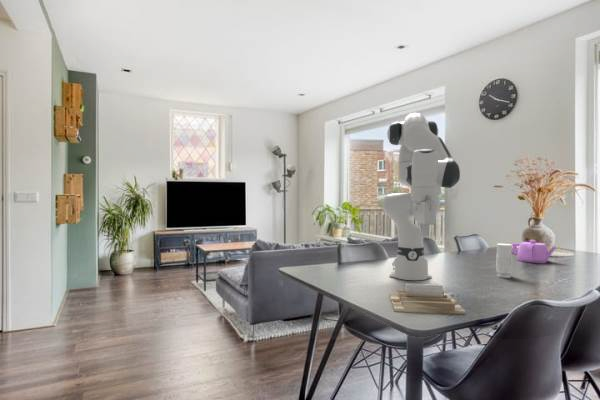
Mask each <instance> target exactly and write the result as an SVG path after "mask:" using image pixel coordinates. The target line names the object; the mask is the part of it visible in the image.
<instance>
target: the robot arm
mask: <svg viewBox="0 0 600 400" xmlns="http://www.w3.org/2000/svg"><path fill="white" fill-rule="evenodd" d="M386 134H387V140H388V141H389V143H390V145H393V146H398V145H399V146H400V148H399V154H398V172H397V173H398V180H399V181H398V182H400V183H401V184H402V185H403V186H405V187H408V188H409V189H410V192H396V193H390V194H386V195H385V196H384V198H383V200H382V203H381V207H382V211H383V212H384V214H385V215H386V216H388V217H389V218H390V219H391V220H392V222H393V223H394V225H395V227H396V230H397V238H398V239H397V243H398V244H397V245H398V246H397V249H396V254H397V255H396V256H395V258H394V259H393V260H392V263H391V265H392V269H391V272H390V273H389V277H390V278H395V279H399V280H404V281H405V280H406V281H407V280H408V281H423V280H427V279H432V278H433V276H432V275H431V274H429V267H428V265H429V263H428V259H427V258H426V257H425V247H424V237H428V236H429V229H430V226H431V225H432V226H433V225H436V223H437V214H439V212H440V210H441V206H442V205H441V204H442V203H441V201H440V198H439V188H445V189H446V188H447V189H451V188H453V187H454V186H455V185H457V183H458V182H459V181H460V176H461V170H460V166H459V164H458V163H457V162H456V160H455V159H454V158H453V157H452V155H451V153H450V151H449V149H448V147H447V146H446V144H445V141H444V140H443V139H442V138H441V137H440V136H438V135H439V127H438V124H437V123H436V122H435V121H432V120H427V118H426V117H425V116H424V115H423V114H422V113H418V112H413V113H412V112H411V113H409V114H408V115H407V116H406V117H405V118H404V121H394V122H392V123H391V124H390V125H389V127H388V129H387V133H386ZM412 217H413V218H414V220H415V222H418V223H419V225H417V224H415V223H412V222H411V221H410V218H412Z"/></svg>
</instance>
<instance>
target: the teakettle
mask: <svg viewBox="0 0 600 400" xmlns="http://www.w3.org/2000/svg"><path fill="white" fill-rule="evenodd" d="M512 245H513V246H512V254H514V255H516V256H517V259H518V262H524V263H534V264H546V263H547V262H548V259H549V258H550V257H551V255H552V254H553V253H554V252H555V251H556V250H557V246H552V247H551V248H550V249H548V247H547V244H546V243H542V242H537V240H536V239H529V241H522V242H513V243H512ZM517 247H518V250H517Z"/></svg>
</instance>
